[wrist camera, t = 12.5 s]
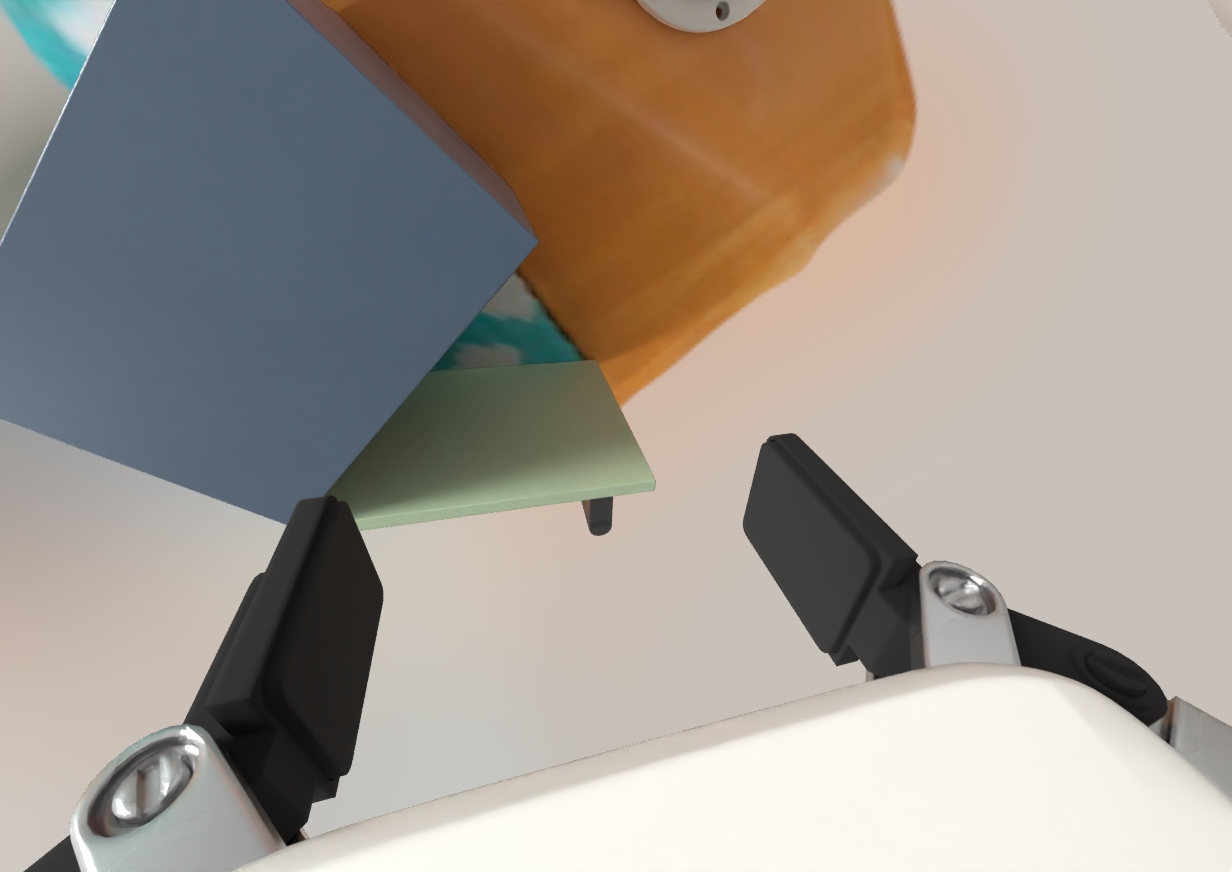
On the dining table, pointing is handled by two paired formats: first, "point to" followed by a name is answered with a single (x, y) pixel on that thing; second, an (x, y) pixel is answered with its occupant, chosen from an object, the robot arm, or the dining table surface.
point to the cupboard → (242, 250)
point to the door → (498, 448)
